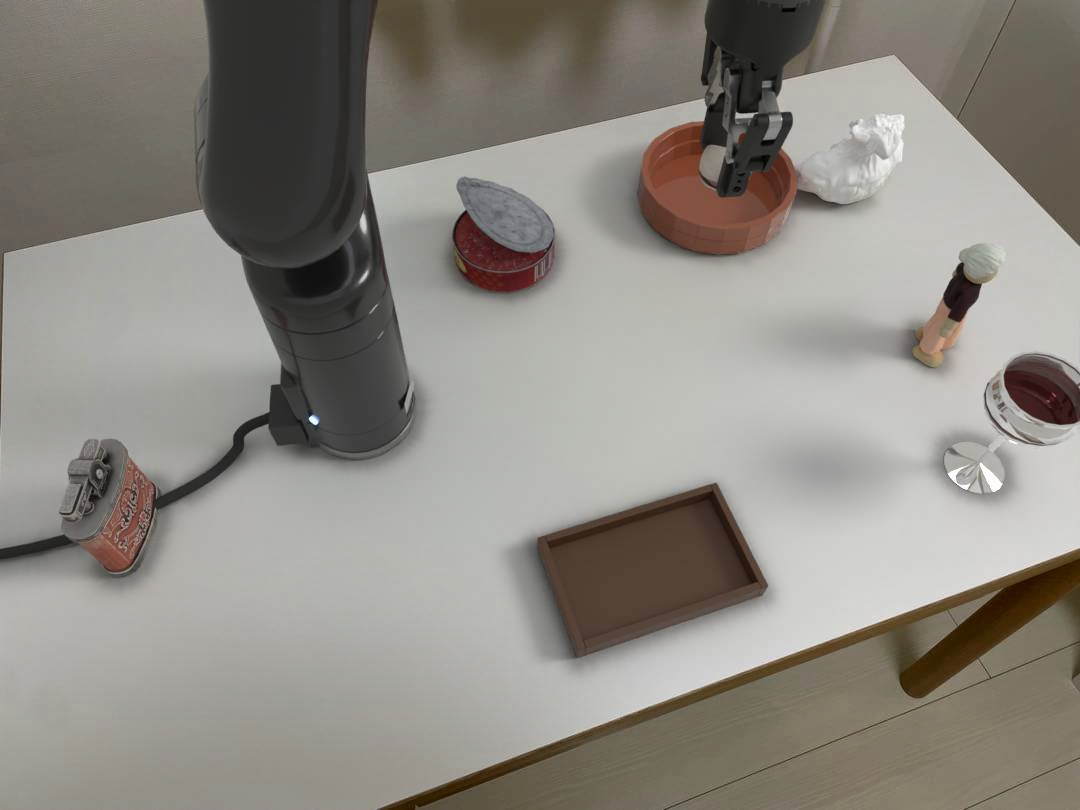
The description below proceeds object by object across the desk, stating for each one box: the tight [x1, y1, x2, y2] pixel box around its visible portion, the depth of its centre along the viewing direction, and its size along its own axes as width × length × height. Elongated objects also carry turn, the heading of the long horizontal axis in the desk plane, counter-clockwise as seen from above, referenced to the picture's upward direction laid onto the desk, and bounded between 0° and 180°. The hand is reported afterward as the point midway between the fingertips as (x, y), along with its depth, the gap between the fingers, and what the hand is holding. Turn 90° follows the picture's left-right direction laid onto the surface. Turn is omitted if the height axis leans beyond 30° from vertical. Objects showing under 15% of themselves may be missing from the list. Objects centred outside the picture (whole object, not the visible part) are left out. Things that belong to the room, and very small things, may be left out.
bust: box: [795, 112, 906, 205], centre depth 84 cm, size 12×8×11 cm
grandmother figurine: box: [911, 242, 1008, 368], centre depth 73 cm, size 8×4×13 cm, turn 168°
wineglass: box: [943, 350, 1080, 495], centre depth 66 cm, size 7×7×12 cm
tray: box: [536, 482, 769, 659], centre depth 65 cm, size 15×9×2 cm, turn 109°
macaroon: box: [699, 145, 752, 191], centre depth 68 cm, size 4×5×2 cm
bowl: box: [636, 120, 798, 255], centre depth 86 cm, size 15×15×4 cm
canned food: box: [451, 176, 556, 294], centre depth 81 cm, size 11×10×10 cm
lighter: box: [57, 437, 162, 579], centre depth 63 cm, size 8×3×10 cm, turn 178°
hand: (721, 169), depth 69 cm, fingers closed on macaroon, 5 cm apart
